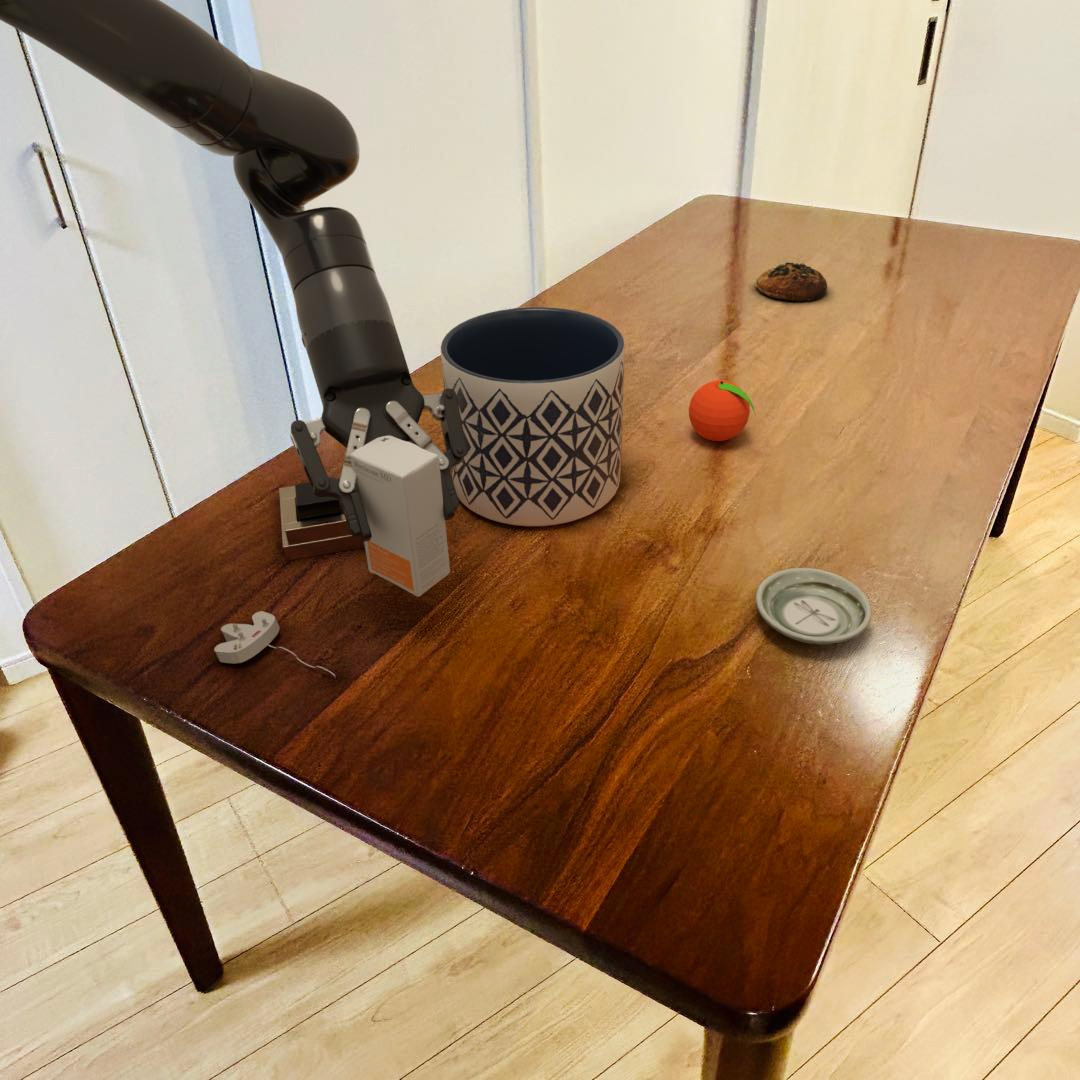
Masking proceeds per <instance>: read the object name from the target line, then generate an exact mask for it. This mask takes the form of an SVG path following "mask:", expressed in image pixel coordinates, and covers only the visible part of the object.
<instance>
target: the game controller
mask: <svg viewBox="0 0 1080 1080" xmlns="http://www.w3.org/2000/svg"><path fill="white" fill-rule="evenodd" d="M251 620H252V622H253V625H252V624H249V623H227V624H224V625H222V627H221V628H220V630H221V633H222V634H223V637H224V639H225V642H220V643H219V644H217V645H216V646H215V647H214V652H215V655H216V658H217V659H218V661H219V662H220V663H222V664H223V663H225V664H232V665H233V664H242V663H244V662H247V661H248V660H250V659H251V658H253V657H255V656H256V655H257V654H259V653H261V651H263V650H264V649H265V648H266V647H270V648H273V649H283V650H284V651H287V652H289V653H290V654H292V655H293V656H294V657H295V658H296V660H297V661H299V662H300V663H302V664H304V665H305V666H308V667H310V668H313V669H314V668H320V669H322V670H324V671H326V672H328V673H330V674H331V675H332V676H333V677H334V679H337V678H336V674H335V673H334V672H332V671H330V669H327V668H325V667H323V666H320V665H316V666H313V665H310V664H308V663H306V662H304V661H303V660H302V659H300V658H299V657H298V656H297V654H296V653H294V652H293V651H291V650H289V649H287V648H285V647H283V646H278V647H277V646H274V645H271V644H270V643H271V642H272V641H273V640H275V638H276V637H277V636H278V634H279V632H280V628H281V627H280V625H279V623H278V620H277V618H276V616H275V615H273V614H272V613H269V612H266V611H262V610H260V611H257V612H255V613H254V614H253V615H252V616H251Z"/></svg>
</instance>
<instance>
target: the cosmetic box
mask: <svg viewBox="0 0 1080 1080" xmlns="http://www.w3.org/2000/svg"><path fill="white" fill-rule="evenodd" d="M350 460H351V466H352V469H353V471H354V472H355V474H356V475H357V478H356V482H355V490H356V492H359V493H360V497H361V500H362V503H363V507H364V510H365V513H366V517H367V520H368V523H369V527H370V530H371V534H372V538H371V540H369V541H365V542H364V544H365V547H364V549H365V556H366V562H367V567H368V571H369V572H370V573H372V574H375V575H377V576H378V577H380V578H382V579H383V580H386V581H388V582H390V583H391V584H393V585H395V586H397V587H399V588H401V589H402V590H404V591H406V592H408V593H410V594H411V595H413V596H415V597H418V598H419V597H421V596H422V595H424V594H425V593H426V592H427V591H428V590H430V589H432V587H433V586H435V585H436V584H438V583H439V582H440V581H442V580H443V579H445V578H446V577H447V576H448V575H449V574H450V573H451V565H450V554H449V546H448V537H447V535H448V534H447V525H446V521H445V515H444V505H443V495H442V485H441V474H440V464H439V456H438V455H437V454H434V453H432V452H429V451H427V450H424V449H422V448H420V447H419V446H417V445H415V444H413V443H410V442H407V441H403V440H401V439H398V438H395V437H393V436H383V437H379V438H376V439H375V440H373V441H371V442H369V443H367V444H366V445H364V446H363V447H360V448H359V449H357V450H355V451H354V452H352V453H351V454H350Z"/></svg>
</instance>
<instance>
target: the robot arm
mask: <svg viewBox="0 0 1080 1080" xmlns="http://www.w3.org/2000/svg"><path fill="white" fill-rule="evenodd" d="M0 21H1V22H3V23H5V24H7V25H8V26H10V27H12V28H14V29H16V30H18V31H20V32H21V33H23V34H24V35H26V36H28V37H30V38H32V39H33V40H35V41H37V42H38V43H40V44H42V45H43V46H45V47H47V48H48V49H49V50H51V51H53V52H54V53H56V54H58V55H59V56H61V57H63V58H64V59H66V60H68V61H69V62H71V63H72V64H74V65H75V66H77V67H78V68H80V69H81V70H83V71H84V72H86V73H88V75H91V76H92V77H93V78H95V79H97V80H98V81H100V82H101V83H102V84H104V85H106V87H109V88H110V89H111V90H113V91H115V92H116V93H117V94H119V95H120V96H122V97H124V98H125V99H126V100H128V101H130V103H133V104H134V105H136V106H137V107H139V108H140V109H141V110H143V111H145V112H146V113H148V114H149V115H151V116H152V117H154V118H156V119H157V120H158V121H160V122H161V123H163V124H164V125H166V126H168V127H169V128H171V129H172V130H174V131H176V132H177V133H179V134H181V136H184V137H185V138H187V139H188V140H190V141H192V142H194V143H195V144H196V145H199V147H201V148H203V149H205V150H207V151H209V152H210V153H213V154H215V155H217V156H222V157H232V164H233V165H232V166H233V173H234V176H235V179H236V181H237V184H238V185H239V187H240V189H241V191H242V192H243V194H244V195H245V197H246V199H247V200H248V201H249V202H250V204H251V206H252V208H253V209H254V211H255V212H256V214H257V215H258V217H259V218H260V220H261V221H262V224H263V225H264V226H265V229H266V230H267V232H268V233H269V235H270V237H271V239H272V241H273V242H274V244H275V246H276V247H277V250H278V252H279V253H280V255H281V258H282V262H283V265H284V268H285V271H286V274H287V278H288V282H289V284H290V285H289V286H290V289H291V291H292V294H293V299H294V300H293V301H294V303H295V304H294V305H295V310H296V317H297V323H298V327H299V330H300V334H301V342H302V345H303V347H304V348H305V351H306V353H307V357H308V362H309V364H310V367H311V370H312V374H313V377H314V380H315V384H316V388H317V392H318V394H319V398H320V401H321V404H322V413H321V416H320V417H317V418H314V419H311V420H308V421H304V420H301V419H296V420H294V421H293V422H292V423H291V424H290V435H289V436H290V440H291V442H292V445H293V447H294V449H295V452H296V455H297V457H298V459H299V462H300V464H301V466H302V469H303V472H304V474H305V476H306V478H307V480H308V481H307V482H309V483H310V486H311V488H312V490H313V493H314V494H315V495H316V496H317V497H325V496H326V497H334V498H337V499H338V500H339V501H340V503H341V505H342V509H343V512H344V515H345V519H346V522H347V526H348V529H349V532H350V533H351V534H352V536H353V537H356V536H359V537H360V540H361V542H365V541H369V540H371V538H372V534H371V530H370V527H369V523H368V520H367V517H366V513H365V510H364V507H363V503H362V500H361V497H360V493H359V492H356V490H355V482H356V478H357V475H356V474H355V472H354V471H353V469H352V466H351V460H350V454H351V453H352V452H354V451H355V450H357V449H359V448H360V447H363V446H364V445H366V444H367V443H369V442H371V441H373V440H375V439H376V438H379V437H383V436H393V437H395V438H398V439H401V440H403V441H407V442H410V443H413V444H415V445H417V446H419V447H420V448H422V449H424V450H427V451H429V452H432V453H434V454H437V455H438V456H439V464H440V474H441V485H442V495H443V505H444V515H445V522H446V521H450V520H452V519H453V518H454V517H455V516H456V512H457V511H456V510H458V508H459V506H460V505H459V504H460V499H459V498H458V496H457V493H456V490H455V487H454V483H453V479H452V473H451V470H452V469H451V468H452V467H454V466H455V465H458V464H460V463H461V461H462V459H463V458H464V457H465V455H466V454H467V446H466V441H465V436H464V431H463V426H462V421H461V416H460V411H459V406H458V401H457V396H456V392H455V391H454V390H453V389H450V388H447V389H445V390H444V389H443V390H442V391H441V392H440V393H431V394H430V393H429V394H422V392H421V391H420V390H419V389H417V387H416V386H415V384H414V383H413V380H412V376H411V373H410V369H409V366H408V363H407V360H406V357H405V353H404V350H403V347H402V343H401V341H400V337H399V335H398V334H399V333H398V331H397V328H396V325H395V320H394V317H393V315H392V311H391V309H390V305H389V302H388V299H387V297H386V294H385V292H384V290H383V288H382V286H381V284H380V282H379V279H378V276H377V273H376V269H375V267H374V264H373V260H372V257H371V253H370V250H369V247H368V244H367V240H366V238H365V235H364V232H363V228H362V226H361V224H360V222H359V220H358V219H357V218H356V217H355V215H354V214H353V213H351V211H348V210H346V209H344V208H341V207H337V206H321V207H320V206H319V207H316V208H315V207H314V208H310V209H305V206H306V205H307V204H308V203H310V202H312V201H314V200H315V199H317V198H319V197H321V196H322V195H324V194H326V193H327V192H329V191H331V190H332V189H334V188H336V187H338V186H340V185H341V184H343V183H344V182H346V181H347V180H348V179H349V178H350V177H352V175H353V174H354V173H355V171H357V168H358V165H359V162H360V155H361V154H360V153H361V149H360V144H359V143H360V142H359V138H358V135H357V133H356V131H355V128H354V126H353V125H352V123H351V122H350V120H349V119H348V117H347V116H346V115H345V114H344V113H343V112H342V111H341V109H340V108H338V107H337V106H336V105H335V104H334V103H333V102H332V101H330V100H329V99H327V98H326V97H324V96H323V95H321V94H320V93H318V92H316V91H314V90H312V89H309V88H307V87H305V86H302V85H300V84H298V83H294V82H292V81H290V80H287V79H284V78H281V77H279V76H277V75H275V74H272V73H269V72H268V71H265V70H261V69H258V68H255V67H252V66H251V65H250V64H248V63H247V62H245V61H244V60H243V59H241V58H240V57H239V56H238V55H236V54H235V53H234V52H233V51H232V50H230V48H228V47H226V46H225V45H224V44H223V43H221V42H220V41H219V40H218V39H216V38H215V37H214V36H213V35H212V34H210V33H209V32H208V31H206V30H205V29H204V28H202V27H201V26H200V25H198V24H197V23H196V22H194V21H193V20H191V19H190V18H188V17H187V16H185V15H184V14H182V13H181V12H179V11H178V10H176V9H175V8H174V7H172V6H170V5H168V4H167V3H165V2H163V1H161V0H0ZM423 410H426V411H428V412H429V413H430V414H431V417H432V418H433V419H434V420H435V421H439V422H440V428H441V431H442V436H443V442H444V447H445V452H442V451H441V450H440V449H439V448H438V446H436V445H435V443H434V442H433V440H432V438H431V436H430V435H429V434H428V433H427V432H426V431H425V430H424V429H423V428H422V427H421V426H420V424H419V422H420V419H421V416H422V413H423ZM324 432H325V433H326V434H328V435H329V436H330V437H332V438H333V439H334V440H336V441H337V442H338V443H339V444H341V446H343V447H344V448H346V450H345V454H344V459H343V463H342V466H341V467H342V468H341V473H340V477H339V478H337V477H329V475H328V473H327V471H326V468H325V466H324V464H323V462H322V459H321V457H320V454H319V452H318V448H319V447H320V446H321V441H322V436H321V435H322V433H324Z"/></svg>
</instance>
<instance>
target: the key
mask: <svg viewBox="0 0 1080 1080" xmlns="http://www.w3.org/2000/svg"><path fill="white" fill-rule="evenodd" d="M294 486H295V492H296V504H297V510H298V514H299V519H300V522H301V521H307V520H313V519H319V518H325V517H331V516H337V515H342V514H341V508H340V501H339V500H338V499H337V498H334V497H326V496H325V497H317V496H316V495H315V494H314V493H313V490H312V488H311V486H310V483H309V481H307V482H300V483H295V484H294Z"/></svg>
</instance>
